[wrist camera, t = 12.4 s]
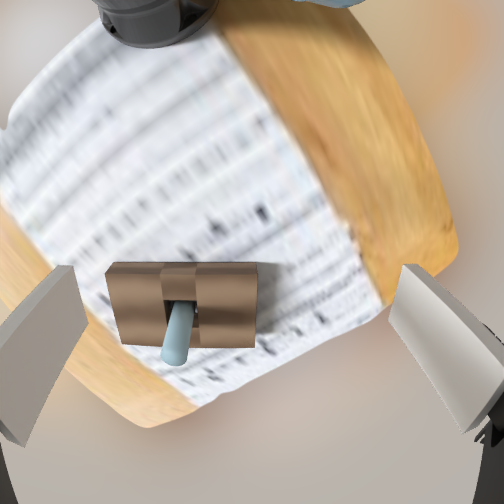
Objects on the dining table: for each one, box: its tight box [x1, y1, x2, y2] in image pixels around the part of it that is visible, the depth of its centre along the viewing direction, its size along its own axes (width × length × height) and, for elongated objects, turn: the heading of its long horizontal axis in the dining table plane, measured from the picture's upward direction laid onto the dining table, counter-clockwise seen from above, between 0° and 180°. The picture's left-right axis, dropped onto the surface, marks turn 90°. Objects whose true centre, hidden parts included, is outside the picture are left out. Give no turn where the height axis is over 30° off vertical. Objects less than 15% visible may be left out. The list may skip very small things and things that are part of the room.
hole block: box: [105, 262, 258, 348], centre depth 40 cm, size 12×20×4 cm, turn 89°
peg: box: [161, 300, 196, 366], centre depth 36 cm, size 3×3×12 cm
